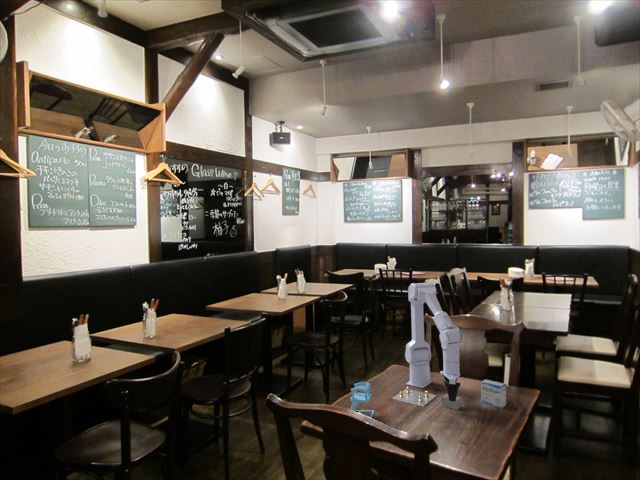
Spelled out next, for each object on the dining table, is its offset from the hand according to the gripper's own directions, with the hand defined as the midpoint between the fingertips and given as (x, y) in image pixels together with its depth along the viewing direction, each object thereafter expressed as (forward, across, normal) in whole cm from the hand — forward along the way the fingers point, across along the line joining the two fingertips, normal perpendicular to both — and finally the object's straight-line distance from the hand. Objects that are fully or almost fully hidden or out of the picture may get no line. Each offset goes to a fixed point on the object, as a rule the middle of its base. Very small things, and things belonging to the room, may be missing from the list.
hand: (451, 397), depth 163 cm
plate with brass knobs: (+4, -6, -14) cm, 16 cm away
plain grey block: (+5, 0, 0) cm, 5 cm away
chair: (+4, +14, -32) cm, 35 cm away
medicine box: (+4, -6, +15) cm, 17 cm away
